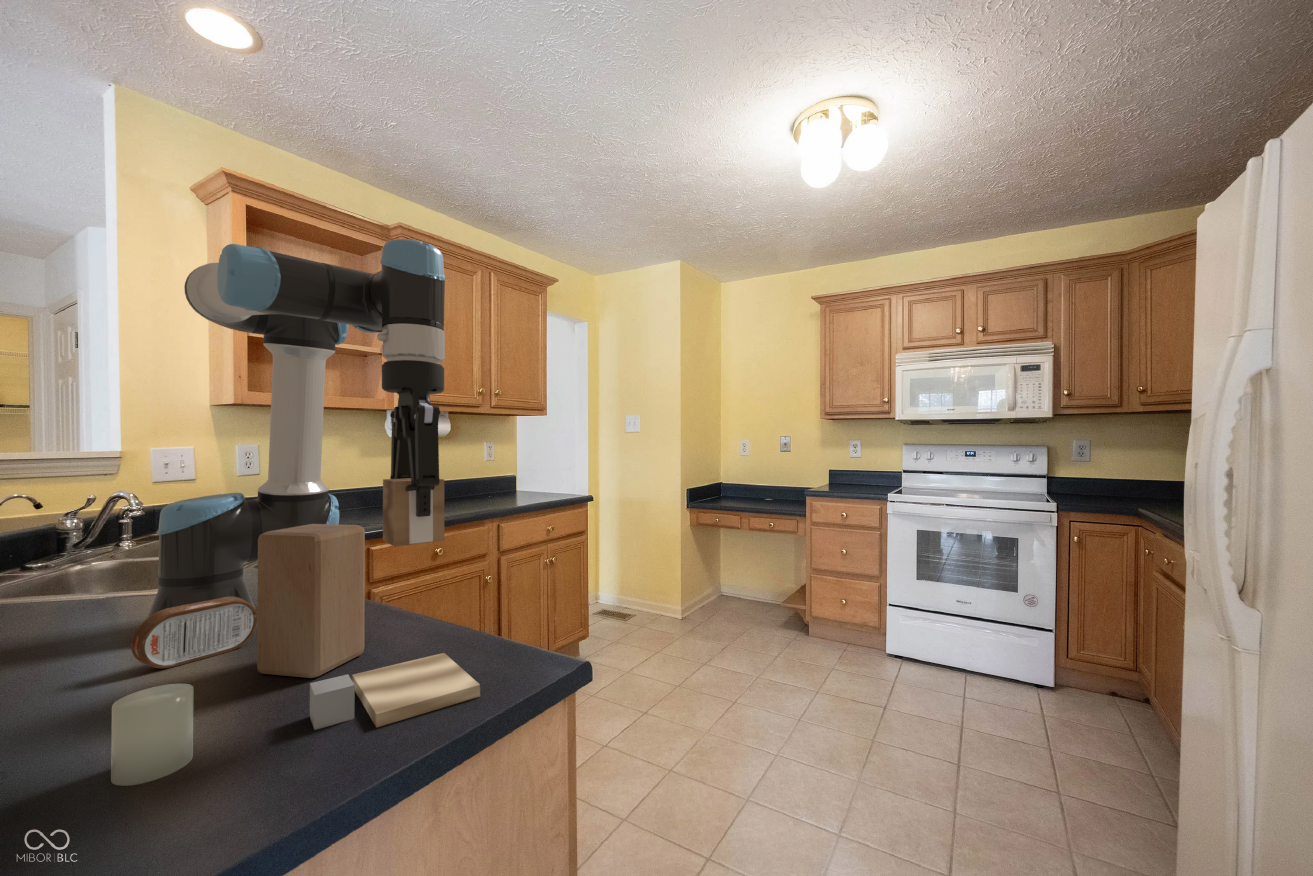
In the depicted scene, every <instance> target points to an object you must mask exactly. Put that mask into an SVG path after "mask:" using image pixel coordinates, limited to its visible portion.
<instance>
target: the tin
mask: <svg viewBox="0 0 1313 876" xmlns="http://www.w3.org/2000/svg"><path fill="white" fill-rule="evenodd" d="M146 618H147V617H146ZM257 619H258V610H257V609H256V607H255V608H254V607H253V606H252V605H251V604H250V603H248V602H246V601H245V600H243V599H241V598H238V597H224V598H219V599H214V600H209V601H203V602H198V603H193V604H188V605H182V606H177V607H172V608H167V609H164V610H161V611H159V612H157V613H155V614H153V615H151V616H150V617H148V618H147V619H144V621H143V622H142V623H140V625H139V626H138V627H137V628H136V629H135V631H134V633H133V636H132V639H131V643H130V646H131V647H130V649H131V653H132V655H133V656H134V658H135V659H136V660H137V661H138V662H139V663H142V664H143V665H147V666H148V667H151V668H153V669H154V668H155V669H171V668H174V667H179V666H182V665H186V664H189V663H193V662H196V661H200V660H204V659H207V658H211V657H215V656H218V655H219V656H220V655H223V654H226V653H230V652H233V651H236V650H237V649H239V648H241V647H242V646H243V645H245V644H246V643H247V642H249V640H250V639H251V638H252V636H253V635H254V634H255V631H257V630H256V629H257Z"/></svg>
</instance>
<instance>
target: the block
mask: <svg viewBox="0 0 1313 876" xmlns="http://www.w3.org/2000/svg"><path fill="white" fill-rule="evenodd" d="M365 535H366V530H365V528H364V527H363V526H361V525H358V524H339V523H338V524H309V525H303V526H297V527H291V528H286V529H280V530H274V531H268V532H265V533H263V534H261V535H260V536H259V538H258V561H257V615H258V619H257V626H256V629H257V630H256V631H257V632H256V633H257V634H256V635H257V636H256V638H257V639H256V641H257V643H256V644H257V650H256V651H257V653H256V654H257V655H256V656H257V659H256V663H257V664H256V668H257V671H258V672H259V673H260V674H263V675H265V674H266V675H276V676H285V677H296V678H297V677H298V678H307V679H315V678H318V677H320V676H322V675H323V674H326V673H327V672H330V671H331V670H334V669H336V668H337V667H339V666H341V665H343V664H346V663H347V662H350V661H351V660H353V659H355V658H356V657H359V656H361V655H362V654H363V653H364V650H365V599H366V598H365V593H366V592H365V590H366V589H365V582H366V581H365V580H366V579H365V576H366V573H365V566H366V565H365V562H366V557H365V555H366V554H365V553H366V552H365V549H366V547H365V545H366V544H365V543H366V541H365V540H366V538H365Z"/></svg>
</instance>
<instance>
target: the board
mask: <svg viewBox="0 0 1313 876" xmlns="http://www.w3.org/2000/svg"><path fill="white" fill-rule="evenodd" d="M351 680H352V682H353V683H354V685H355V694H356V695H357V696H358V698H359V700H360V702H361V703H362V705H363V707H364V710H366V712H367V714H368V716H369V717H370V719H371V721H372V723H373V724H374V726H375V728H380V727H383V726H386V725H390V724H394V723H396V722H399V721H403V720H407V719H410V718H414V717H416V716H420V715H423V714H426V713H429V712H433V711H436V710H440V709H443V708H446V707H449V706H450V707H451V706H452V705H457V704H459V703H460V704H461V703H464V702H466V701H467V702H468V701H470V700H473V699H477V698H480V697H481V684H480V683H479V682H478V681H476V680H475V679H474V678H473V677H472V676H471V675H470V674H469V673H468V672H467V671H465V670H464V669H463V668H462V667H461V666H460V665H459V664H458V663H456V662H455V661H454V660H453V659H452V658H450V656H449V655H447V654H446V653H445V652H443V653H437V654H434V655H433V654H432V655H429V656H425V657H420V658H417V659H412V660H408V661H403V662H400V663H395V664H391V665H387V666H383V667H379V668H374V669H372V670H365V671H363V672H358V673H354V674H351Z"/></svg>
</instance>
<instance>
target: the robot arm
mask: <svg viewBox="0 0 1313 876" xmlns="http://www.w3.org/2000/svg"><path fill="white" fill-rule="evenodd" d="M379 263H380V264H381V270H379V271H377V272H375V273H371V272H366V271H361V270H358V269H354V268H353V269H352V268H349V267H344V266H339V265H335V264H331V263H324V262H320V261H315V260H312V259H307V258H302V257H297V256H293V255H290V254H284V253H280V252H276V251H272V250H267V249H266V248H263V247H259V246H248V245H243V244H238V243H229V244H227V245H225V246H224V247H223V248H222V249H221V254H219V258H218V262H210V263H206V264H203V265H201V266H198V267H196V268H194V269H193V270H192V271H191V272H189V274H188V276H187V277H186V279H185V282H184V286H183V287H184V288H183V289H184V295H185V299H186V300H187V303H188V304H189V306H190V307H191V308H192V309H193V310H194V312H195V313H197V314H199V316H201V317H202V318H204V319H206V320H208V321H209V322H211V323H214V324H216V325H218V326H220V327H224V328H227V329H230V330H233V331H236V332H241V333H250V334H256V335H263V346H264V347H265V348H266V350H268V351H269V352H270V353H271V354H272V355H271V356H272V372H271V374H272V376H271V395H270V396H271V397H270V399H271V400H270V422H269V423H270V424H269V425H270V426H269V445H268V446H269V448H268V467H267V468H268V472H267V475H268V476H267V480H266V482H264V483H262V485H260V486H259V487H258V488H257V498H253V499H246V496H245V495H244V493H242V492H229V493H223V494H222V493H219V494H218V493H217V494H210V495H205V496H204V495H203V496H197V497H192V498H188V499H183V500H178V501H174V502H171V503H169V504H166V505H165V506H164V507H162V509H161V510H160V513H159V522H158V529H157V531H156V533H157V535H158V571H157V572H158V573H157V575H158V580H157V583H158V586H157V592H156V594H155V597H154V599H153V601H152V604H151V606H150V609H149V611H148V614H147V616H146V619H147V618H148V617H150V616H151V615H153V614H155V613H157V612H159V611H161V610H164V609H167V608H172V607H177V606H182V605H188V604H193V603H198V602H203V601H209V600H214V599H219V598H224V597H238V598H241V599H243V600H245V601H246V602H248V603H250V604H251V605H252V606H253V607H254V608H255V609H256V607H255V604H254V602H253V599H252V597H251V594H250V592H249V590H248V587H247V585H246V582H245V578H244V567H245V566H244V565H245V563H246V564H247V563H253V562H258V538H259V536H260V535H261V534H263V533H265V532H268V531H274V530H280V529H286V528H291V527H297V526H303V525H309V524H338V525H339V523H340V510H339V507H340V505H339V501H338V499H337V497H336V496H335V495H333V494H331V493H329V492H330V491H329V490H330V489H329V486H328V485H327V484H326V483H324V482H323V481H322V479H321V478H322V477H321V475H322V452H323V451H322V449H323V448H322V447H323V433H324V431H323V430H324V411H325V410H324V408H325V407H324V406H325V405H324V404H325V387H326V386H325V384H326V383H325V382H326V364H327V363H326V362H327V361H328V359H329V358H330V357H331V356H332V355H334V354H335V353H336V346H338V345H341V344H344V343H345V341H346V339H347V336H348V335H347V334H348V332H349V326H350V325H351V326H353V327H354V328H355V329H356V330H359V331H360V332H364V333H366V334H367V333H369V334H377V340H378V341H380V342H382V347H381V349H382V351H381V352H382V353H381V354H382V355H381V357H382V358H384V359H385V360H386V361H384V362H383V363H382V364H381V389H382V390H383V391H384V392H387V393H391V394H392V393H393V394H397V395H398V399H397V406H394V408H393V410H391V411H390V421H391V422H390V423H391V444H390V445H391V447H390V451H391V452H390V455H391V456H390V458H391V459H390V477H389V479H405V478H411V485H408V486H406V487H405V489H406V491H409V543H410V544H413V545H415V544H414V543H422V544H424V543H423V542H431V543H433V542H432V541H433V490H434V487H435V486H437V485H439V482H440V480H439V479H440V458H439V457H440V452H439V451H440V449H439V444H440V443H439V419H440V412H441V409H440V406H439V405H432V403H431V401H432V400H431V395H437V394H441V393H443V392H444V390H445V367H443V365H442V364H441V363H442V362H444V361H445V360H446V357H445V356H446V349H445V348H446V345H445V344H446V342H445V341H446V332H445V292H446V291H445V289H446V288H445V286H446V285H445V284H446V283H445V282H446V276H445V267H444V255H443V253H442V252H441V250H440V249H438V247H436V246H434V245H432V244H430V243H427V242H424V241H420V240H416V239H410V238H408V239H407V238H398V239H396V238H395V239H391V240H388V241H387V242H385V243H384V244H383V247H382V253H381V259H380V262H379ZM146 619H145V620H146Z"/></svg>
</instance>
